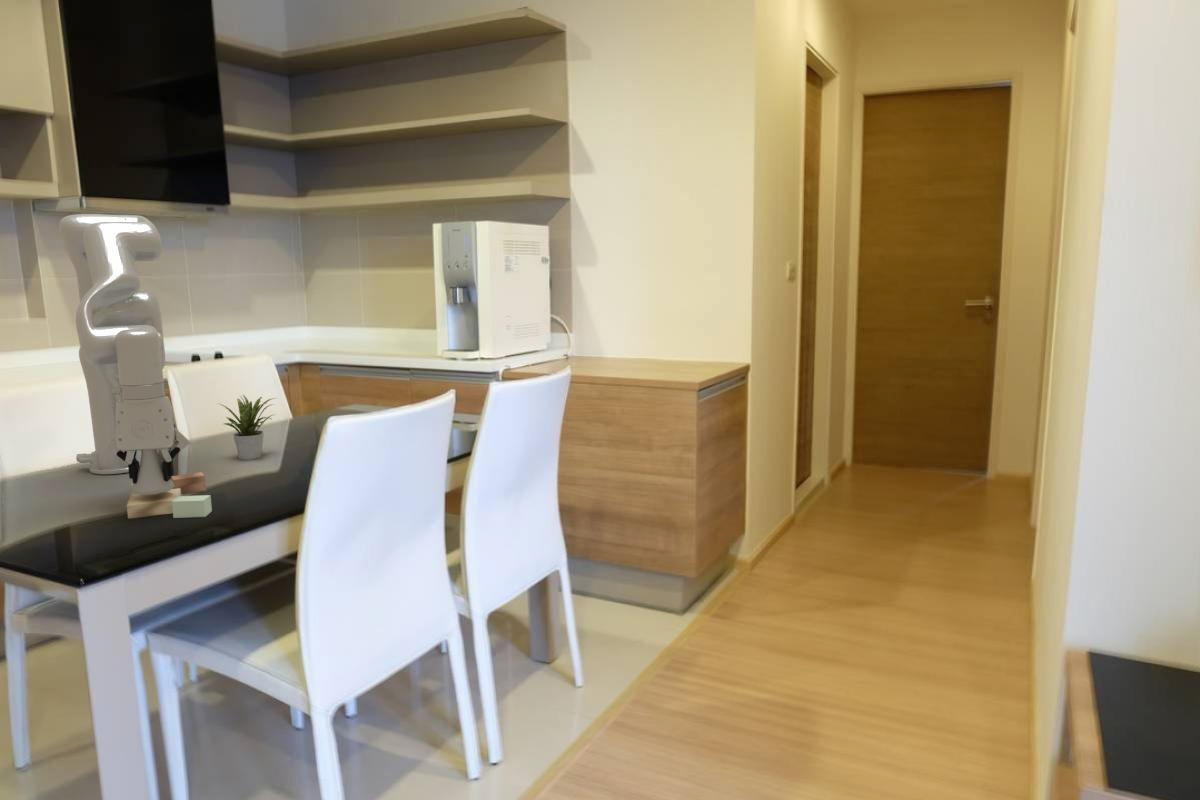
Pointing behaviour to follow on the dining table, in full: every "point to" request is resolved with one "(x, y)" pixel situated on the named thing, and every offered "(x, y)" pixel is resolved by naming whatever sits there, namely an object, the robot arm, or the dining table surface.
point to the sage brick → (191, 506)
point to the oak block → (151, 504)
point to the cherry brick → (189, 482)
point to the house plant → (248, 429)
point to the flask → (151, 475)
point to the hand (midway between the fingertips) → (152, 479)
